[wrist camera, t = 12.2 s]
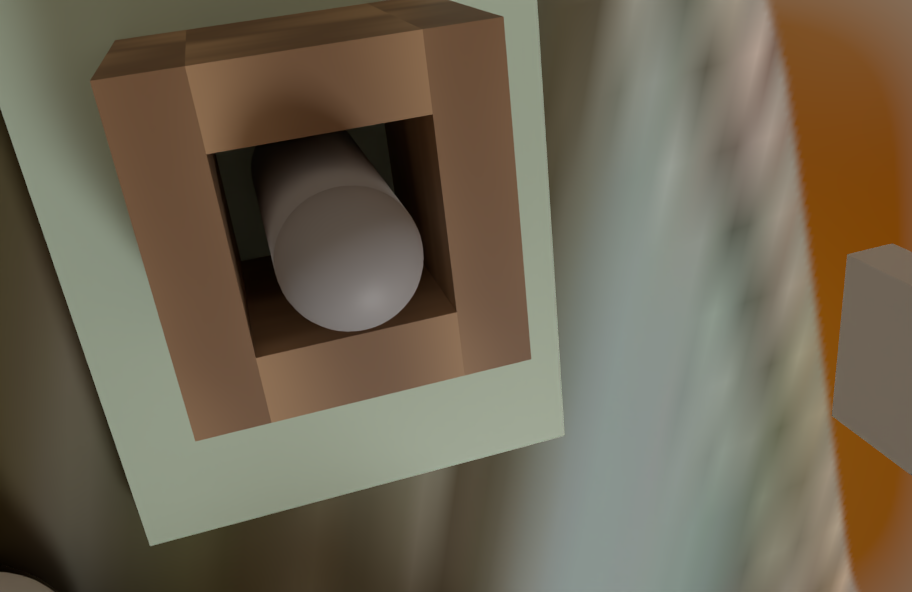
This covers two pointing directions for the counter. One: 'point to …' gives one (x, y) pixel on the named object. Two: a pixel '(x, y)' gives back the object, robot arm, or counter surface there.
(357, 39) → the walnut bead
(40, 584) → the spread jar
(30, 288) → the counter surface
